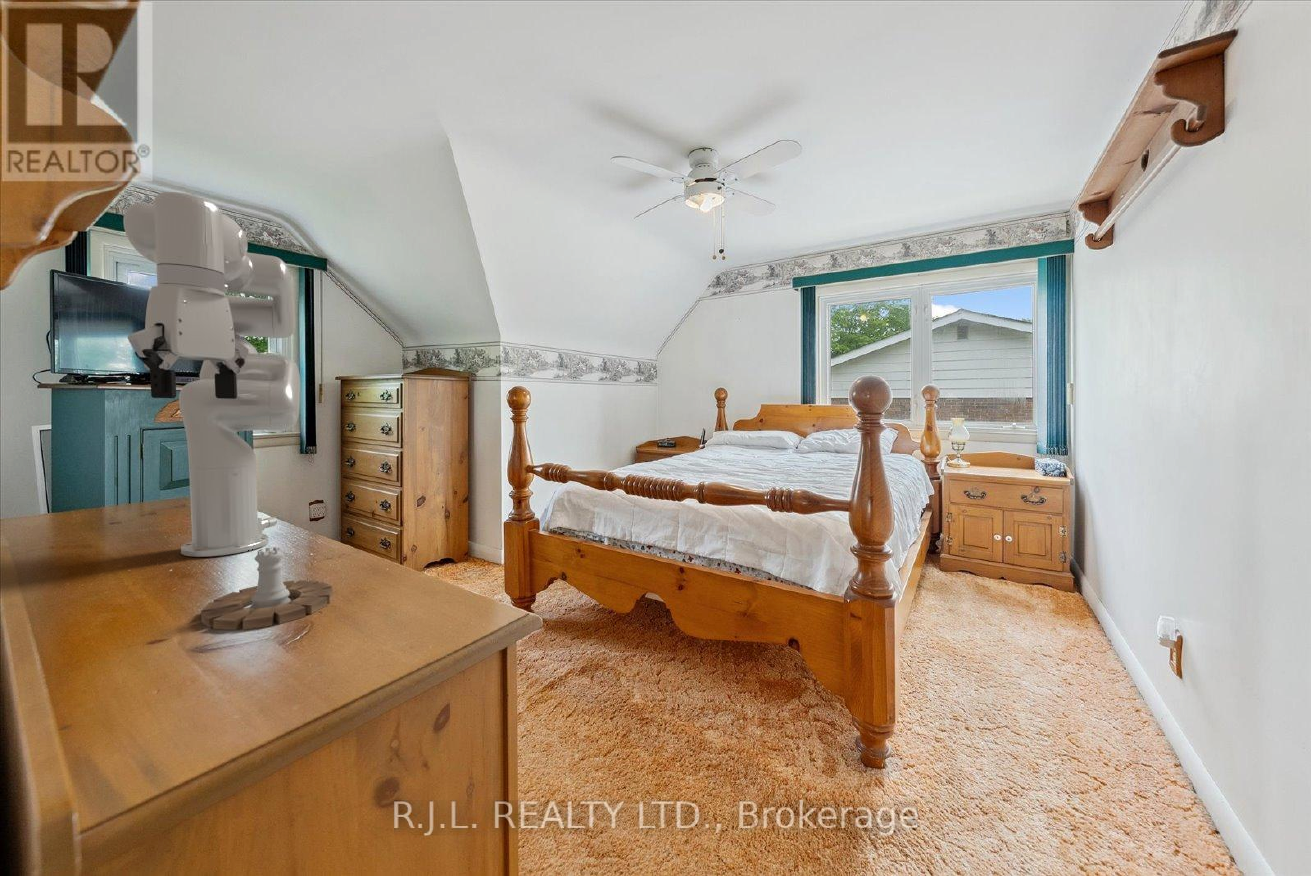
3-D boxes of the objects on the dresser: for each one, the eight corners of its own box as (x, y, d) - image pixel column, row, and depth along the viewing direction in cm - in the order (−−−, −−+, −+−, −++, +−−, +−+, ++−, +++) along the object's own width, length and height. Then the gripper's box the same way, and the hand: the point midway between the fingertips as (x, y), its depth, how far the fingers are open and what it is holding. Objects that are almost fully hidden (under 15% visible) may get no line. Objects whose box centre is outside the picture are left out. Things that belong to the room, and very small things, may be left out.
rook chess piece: (269, 615, 67) (267, 555, 67) (241, 611, 68) (239, 553, 68) (299, 602, 72) (297, 546, 71) (273, 599, 73) (271, 544, 72)
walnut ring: (266, 586, 77) (265, 578, 77) (353, 590, 76) (353, 582, 76) (172, 626, 63) (171, 617, 63) (277, 632, 62) (277, 623, 62)
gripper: (222, 295, 85) (226, 398, 86) (101, 268, 67) (109, 397, 69) (264, 295, 84) (267, 399, 85) (154, 268, 67) (160, 398, 68)
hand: (197, 398), depth 77 cm, fingers open, 9 cm apart
